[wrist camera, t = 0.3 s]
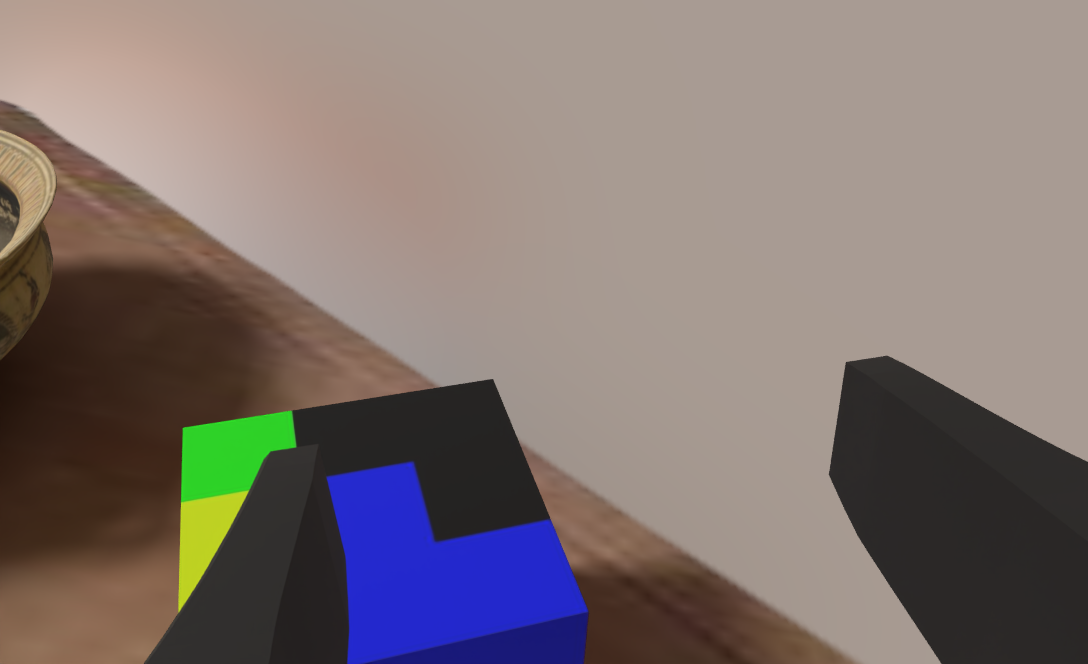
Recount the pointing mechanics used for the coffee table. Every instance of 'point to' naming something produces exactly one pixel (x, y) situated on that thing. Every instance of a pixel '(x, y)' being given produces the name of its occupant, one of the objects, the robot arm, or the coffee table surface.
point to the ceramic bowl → (23, 236)
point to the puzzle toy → (409, 525)
